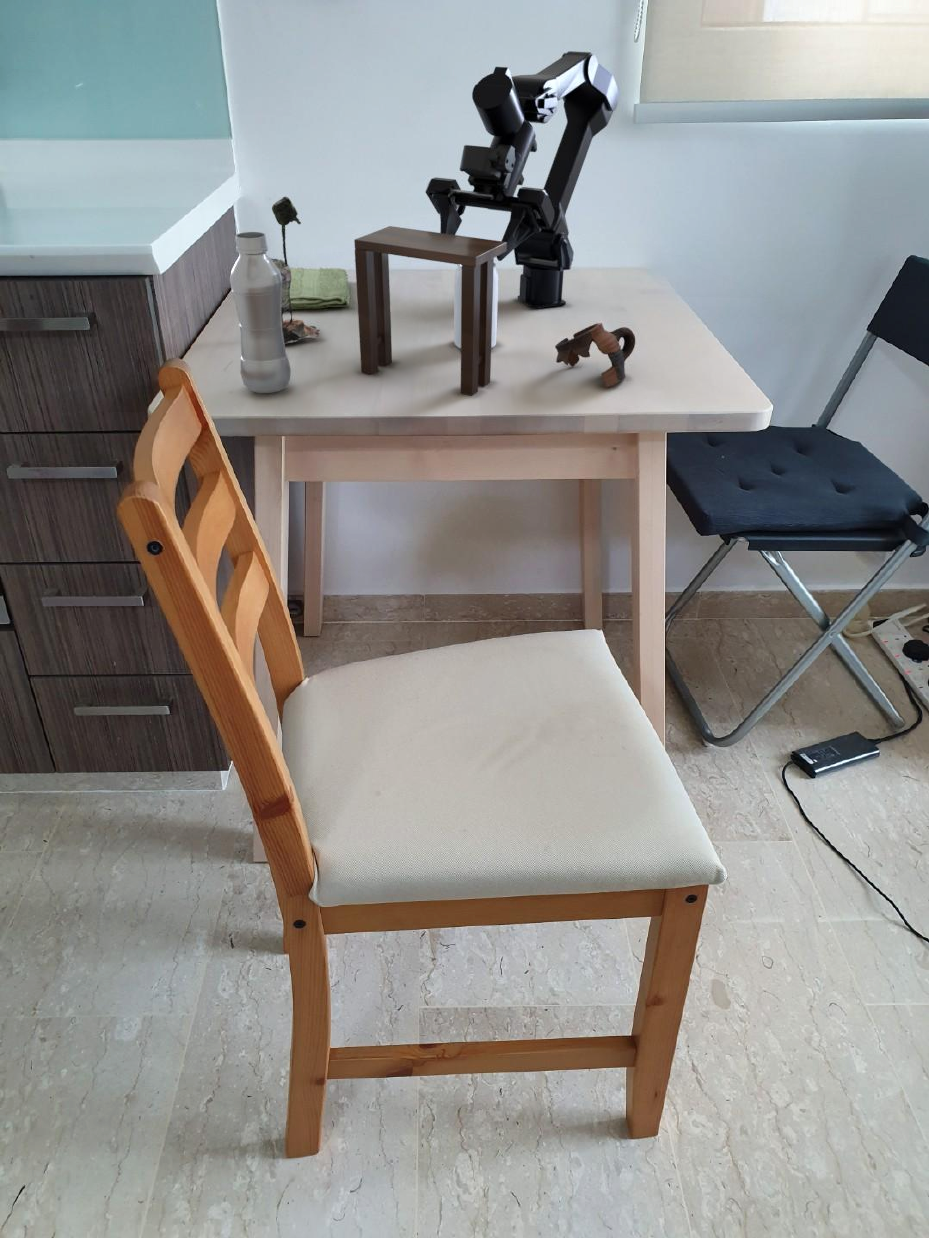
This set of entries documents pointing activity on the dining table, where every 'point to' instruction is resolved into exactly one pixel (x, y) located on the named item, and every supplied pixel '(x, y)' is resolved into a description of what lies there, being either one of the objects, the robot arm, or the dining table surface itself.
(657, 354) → the dining table surface
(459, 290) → the can
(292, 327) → the plant with pod
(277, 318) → the plastic bottle
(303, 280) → the washcloth
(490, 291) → the desk
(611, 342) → the brown jagged looped part
